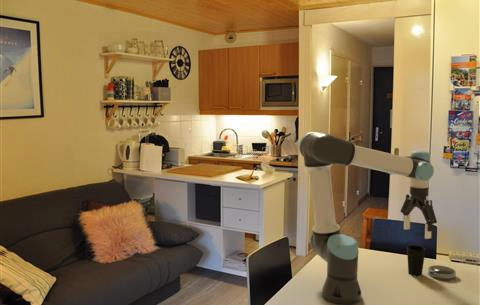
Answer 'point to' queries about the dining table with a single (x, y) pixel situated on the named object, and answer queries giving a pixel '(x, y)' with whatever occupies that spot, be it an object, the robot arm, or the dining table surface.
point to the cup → (415, 259)
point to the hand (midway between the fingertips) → (416, 233)
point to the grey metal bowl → (441, 272)
